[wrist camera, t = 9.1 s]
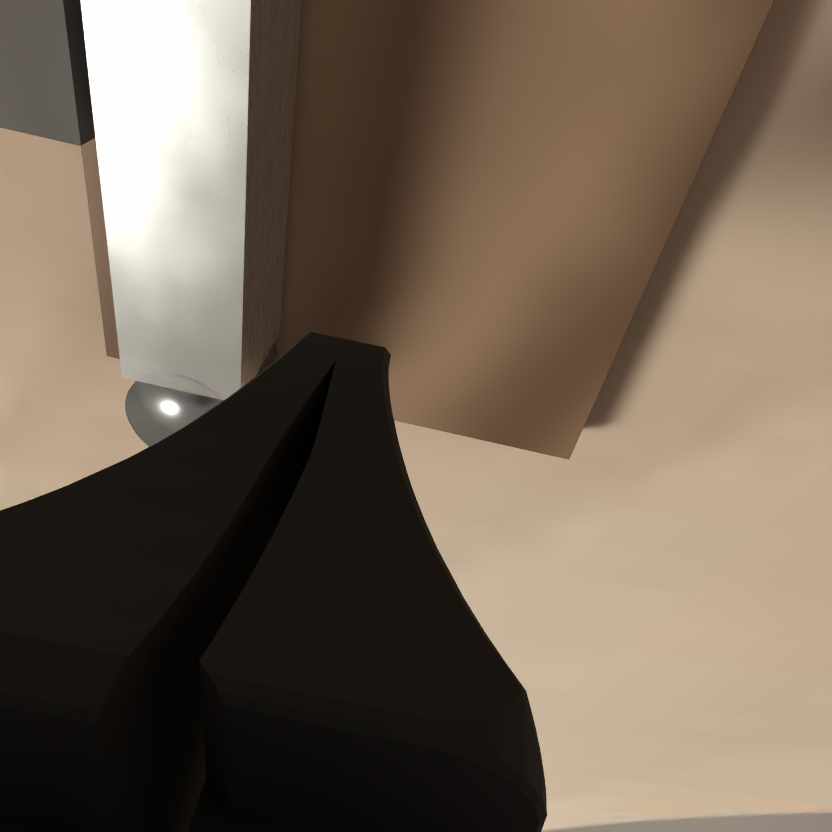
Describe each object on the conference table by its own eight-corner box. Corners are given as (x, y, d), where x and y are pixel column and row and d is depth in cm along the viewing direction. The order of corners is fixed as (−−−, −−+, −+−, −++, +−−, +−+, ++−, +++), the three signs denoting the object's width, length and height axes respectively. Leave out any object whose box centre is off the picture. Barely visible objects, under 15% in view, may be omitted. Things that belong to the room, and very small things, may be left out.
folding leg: (274, 399, 21) (238, 475, 18) (181, 378, 21) (130, 451, 18) (307, -91, 13) (253, -87, 11) (159, -126, 13) (66, -132, 11)
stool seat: (128, 331, 22) (45, 424, 19) (66, -315, 13) (-127, -405, 9) (566, 430, 23) (576, 542, 19) (807, -136, 13) (926, -149, 10)
